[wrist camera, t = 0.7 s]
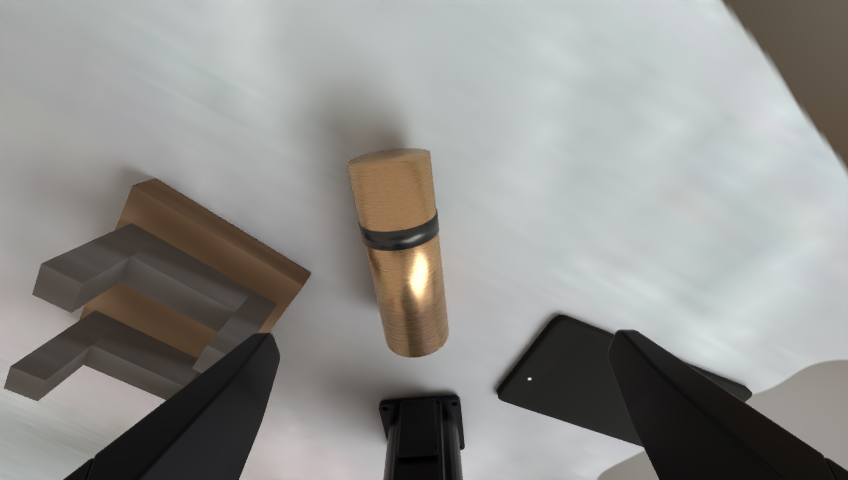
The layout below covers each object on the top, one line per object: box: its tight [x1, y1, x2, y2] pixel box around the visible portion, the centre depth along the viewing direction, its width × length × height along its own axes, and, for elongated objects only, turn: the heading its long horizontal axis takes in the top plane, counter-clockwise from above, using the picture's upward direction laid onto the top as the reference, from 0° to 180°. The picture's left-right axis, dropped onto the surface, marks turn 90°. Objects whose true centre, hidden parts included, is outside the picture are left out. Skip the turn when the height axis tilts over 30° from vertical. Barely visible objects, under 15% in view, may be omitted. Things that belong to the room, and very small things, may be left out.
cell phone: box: [497, 315, 752, 447], centre depth 25 cm, size 9×18×1 cm, turn 66°
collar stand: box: [4, 178, 311, 401], centre depth 19 cm, size 14×10×6 cm
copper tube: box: [347, 149, 449, 357], centre depth 17 cm, size 11×4×4 cm, turn 7°
